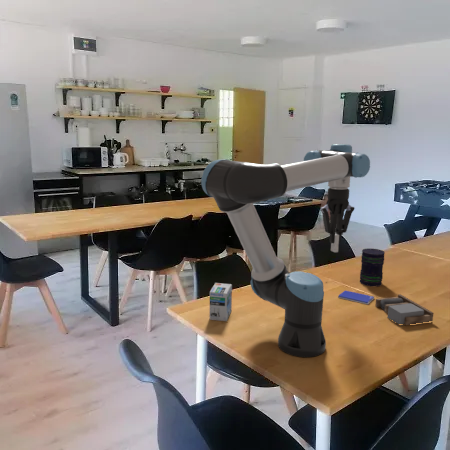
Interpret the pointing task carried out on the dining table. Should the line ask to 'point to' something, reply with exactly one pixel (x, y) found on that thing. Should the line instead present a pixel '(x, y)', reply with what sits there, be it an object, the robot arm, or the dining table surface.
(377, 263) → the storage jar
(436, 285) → the dining table surface
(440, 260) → the dining table surface
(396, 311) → the plain gray cuboid
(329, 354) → the dining table surface
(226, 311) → the light bulb box
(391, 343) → the dining table surface
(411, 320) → the rack
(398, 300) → the plain gray cylinder
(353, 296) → the hard drive
